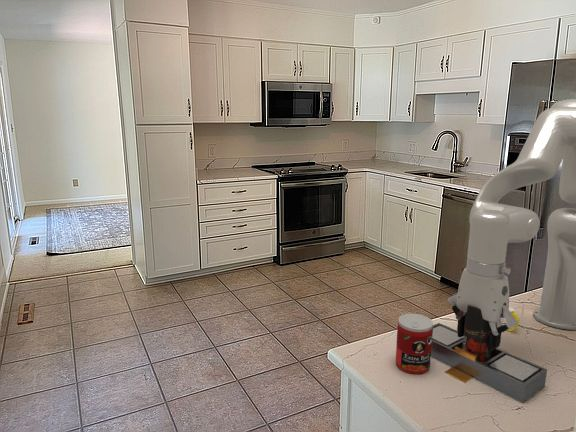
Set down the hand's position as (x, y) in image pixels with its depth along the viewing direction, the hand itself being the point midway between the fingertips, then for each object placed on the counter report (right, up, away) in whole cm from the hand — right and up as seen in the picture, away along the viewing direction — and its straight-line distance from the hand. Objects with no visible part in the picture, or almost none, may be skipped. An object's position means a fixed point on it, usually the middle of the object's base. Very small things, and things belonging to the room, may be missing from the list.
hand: (477, 341), depth 100 cm
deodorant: (0, -6, +1) cm, 6 cm away
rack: (-1, -6, 0) cm, 6 cm away
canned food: (-14, -6, +2) cm, 16 cm away
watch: (+15, -2, +19) cm, 24 cm away
